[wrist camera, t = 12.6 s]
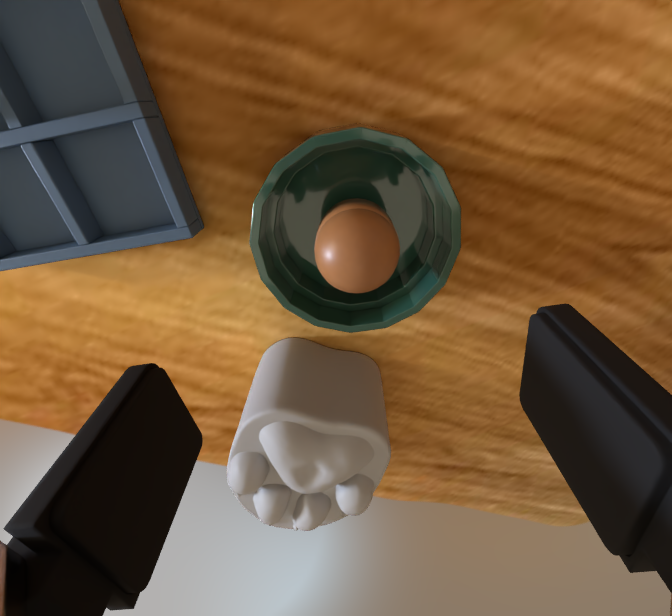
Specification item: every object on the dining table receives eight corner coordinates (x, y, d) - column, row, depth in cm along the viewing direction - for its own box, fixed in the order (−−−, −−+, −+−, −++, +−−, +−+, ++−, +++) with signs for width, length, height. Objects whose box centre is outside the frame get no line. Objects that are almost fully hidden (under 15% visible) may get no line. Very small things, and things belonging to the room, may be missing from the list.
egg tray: (-156, 8, 17) (-213, -3, 15) (95, -62, 15) (63, -83, 14) (19, 260, 23) (-7, 272, 22) (204, 227, 22) (193, 238, 20)
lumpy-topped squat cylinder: (395, 362, 27) (414, 459, 20) (344, 460, 34) (344, 562, 26) (266, 328, 26) (235, 420, 18) (238, 438, 32) (207, 538, 25)
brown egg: (312, 197, 20) (301, 230, 15) (386, 184, 20) (402, 213, 15) (326, 265, 23) (321, 315, 17) (393, 254, 22) (409, 302, 17)
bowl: (242, 145, 19) (220, 154, 16) (439, 105, 18) (462, 106, 15) (289, 309, 25) (280, 342, 22) (443, 287, 24) (460, 318, 20)
